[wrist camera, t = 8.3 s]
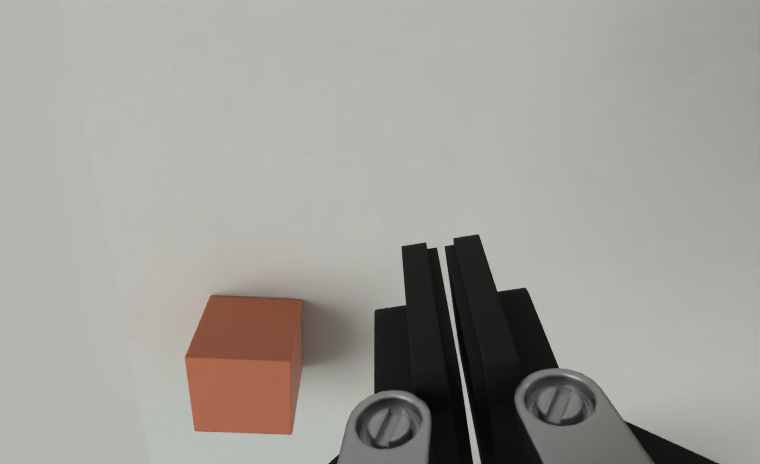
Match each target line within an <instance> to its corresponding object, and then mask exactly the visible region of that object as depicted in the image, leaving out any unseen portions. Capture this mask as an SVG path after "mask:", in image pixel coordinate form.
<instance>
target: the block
mask: <svg viewBox="0 0 760 464" xmlns="http://www.w3.org/2000/svg"><path fill="white" fill-rule="evenodd" d="M185 363H186V370H187V378H188V385H189V393H190V400H191V408H192V415H193V422H194V430H195V431H204V432H232V433H260V434H288V435H291V434H292V431H293V424H294V418H295V411H296V405H297V398H298V392H299V385H300V378H301V372H302V300H295V299H273V298H251V297H228V296H210V298H209V301H208V303H207V305H206V308H205V310H204V313H203V315H202V317H201V320H200V322H199V325H198V327H197V330H196V332H195V334H194V337H193V339H192V342H191V344H190V346H189V349H188V351H187V354H186V356H185Z"/></svg>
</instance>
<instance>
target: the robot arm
mask: <svg viewBox="0 0 760 464" xmlns="http://www.w3.org/2000/svg"><path fill="white" fill-rule="evenodd" d="M445 253H446V260H447V267H448V274H449V281H450V288H451V295H452V302H453V309H454V316H455V323H456V330H457V337H458V344H459V350H460V356H461V362H462V367H463V372H464V377H465V382H466V387H467V393H468V398H469V403H470V408H471V413H472V419H473V424H474V429H475V434H476V439H477V444H478V450H479V455H480V460H481V464H718V463H716V462H714V461H711V460H709V459H707V458H705V457H703V456H700V455H698V454H696V453H694V452H692V451H690V450H687V449H685V448H683V447H681V446H679V445H676V444H674V443H672V442H670V441H668V440H666V439H663V438H661V437H659V436H657V435H655V434H652V433H650V432H648V431H646V430H644V429H641V428H639V427H637V426H635V425H633V424H631V423H628V422H626V421H624V420H623V419H622V417H621V416H620V414H619V413H618V412H617V410H616V409H615V407H614V406H613V404H612V403H611V402H610V400H609V399H608V397H607V396H606V395H605V393H604V392H603V390H602V389H601V388H600V387H599V386H598V385H597V384H596V383H595V382H594V381H593V380H592V379H590V378H589V377H587V376H585V375H584V374H582V373H579V372H576V371H572V370H569V369H559V367H558V364H557V362H556V360H555V357H554V355H553V352H552V350H551V347H550V345H549V342H548V340H547V337H546V335H545V332H544V330H543V327H542V325H541V322H540V320H539V318H538V315H537V313H536V310H535V308H534V305H533V303H532V300H531V298H530V295H529V293H528V291H527V289H526V288H520V289H513V290H506V291H499V292H497V289H496V286H495V283H494V280H493V277H492V274H491V271H490V268H489V265H488V262H487V258H486V255H485V252H484V249H483V246H482V243H481V240H480V237H479V235H472V236H465V237H459V238H454V245H450V246H445ZM402 258H403V271H404V283H405V296H406V305H405V306H398V307H391V308H384V309H378V310H375V328H374V395H371V396H369V397H368V398H366V399H365V400H363V401H362V402H360V403H359V404H358V405H357V406H356V407H355V409H354V410H353V411H352V412H351V414H350V416H349V419H348V421H347V424H346V428H345V433H344V437H343V441H342V445H341V449H340V453H339V455H338V456H336V457H335V458H334V459H333V460H332V461H331V462H330V463H329V464H473V460H472V453H471V446H470V439H469V432H468V425H467V418H466V411H465V405H464V398H463V391H462V384H461V377H460V371H459V365H458V359H457V353H456V348H455V343H454V337H453V332H452V326H451V321H450V316H449V310H448V305H447V299H446V294H445V289H444V283H443V278H442V272H441V267H440V262H439V256H438V251H437V248H431V249H427V245H426V243H420V244H414V245H407V246H402Z"/></svg>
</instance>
